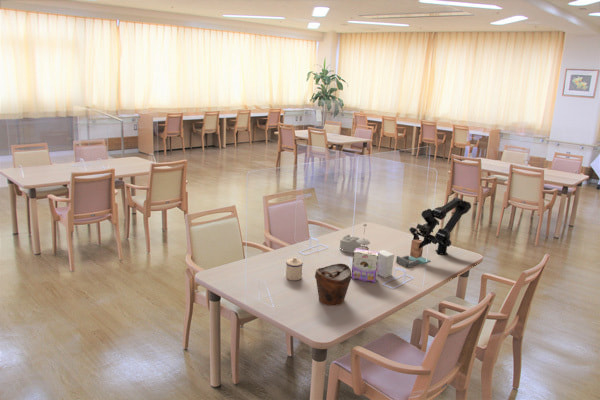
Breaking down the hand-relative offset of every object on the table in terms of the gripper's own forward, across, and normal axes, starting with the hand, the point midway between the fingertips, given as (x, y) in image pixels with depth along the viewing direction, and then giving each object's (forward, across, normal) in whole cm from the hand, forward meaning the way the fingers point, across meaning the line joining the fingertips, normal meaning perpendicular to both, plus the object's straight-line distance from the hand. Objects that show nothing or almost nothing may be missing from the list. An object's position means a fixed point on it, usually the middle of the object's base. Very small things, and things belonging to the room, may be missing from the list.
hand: (415, 246), depth 300 cm
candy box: (+38, +2, -25) cm, 45 cm away
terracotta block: (+4, 0, +6) cm, 7 cm away
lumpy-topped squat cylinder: (+23, -34, -9) cm, 42 cm away
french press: (+28, -15, -14) cm, 35 cm away
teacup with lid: (+60, -21, -48) cm, 80 cm away
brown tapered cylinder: (+60, +11, -48) cm, 78 cm away
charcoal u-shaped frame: (+12, 0, +2) cm, 12 cm away
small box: (+28, +3, -15) cm, 32 cm away
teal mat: (+4, 0, +10) cm, 11 cm away
